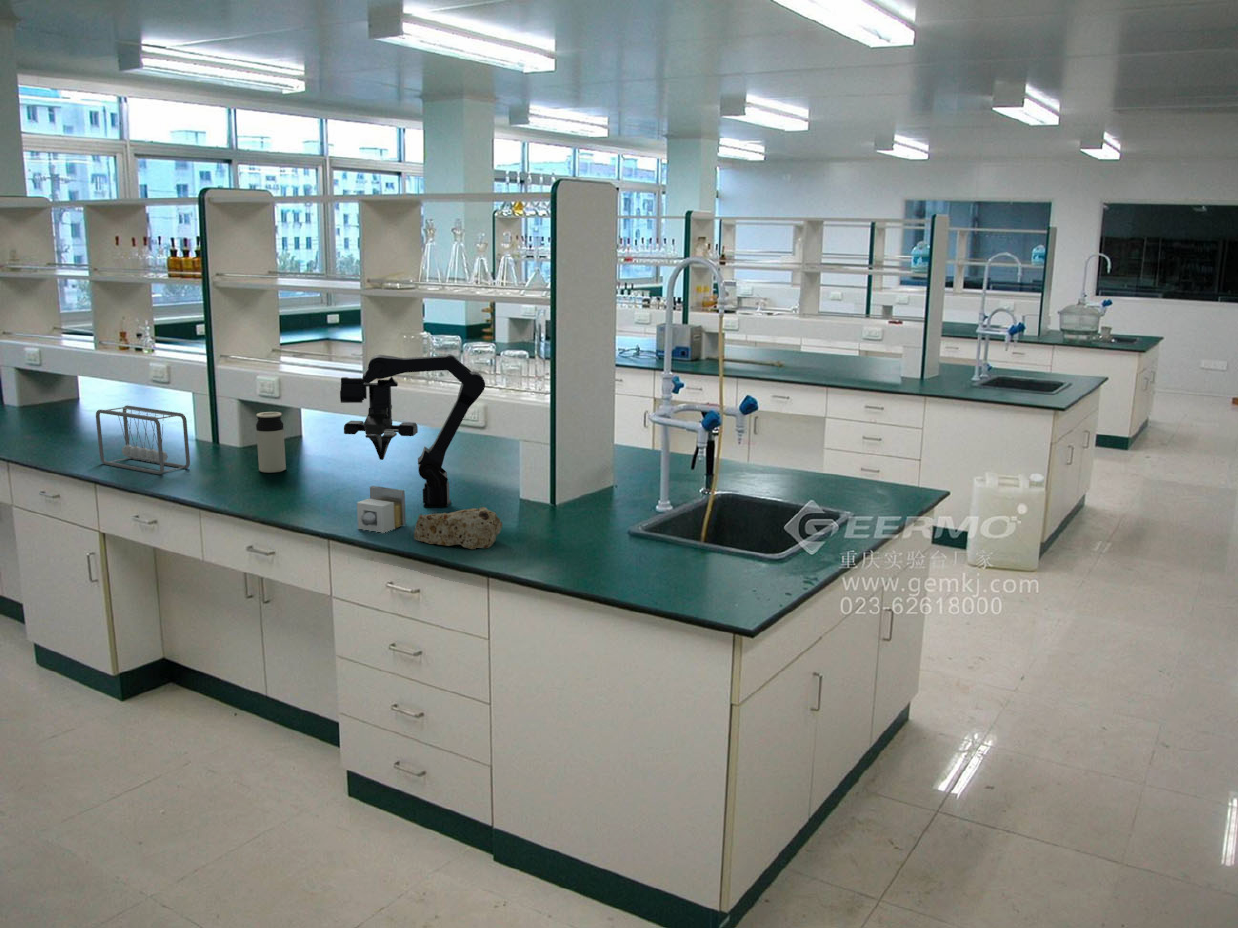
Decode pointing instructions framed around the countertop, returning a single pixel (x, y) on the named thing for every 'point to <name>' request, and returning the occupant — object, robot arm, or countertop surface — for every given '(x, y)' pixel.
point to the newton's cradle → (136, 451)
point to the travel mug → (270, 442)
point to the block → (383, 515)
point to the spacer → (397, 515)
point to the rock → (459, 528)
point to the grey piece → (385, 495)
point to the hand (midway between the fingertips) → (381, 459)
